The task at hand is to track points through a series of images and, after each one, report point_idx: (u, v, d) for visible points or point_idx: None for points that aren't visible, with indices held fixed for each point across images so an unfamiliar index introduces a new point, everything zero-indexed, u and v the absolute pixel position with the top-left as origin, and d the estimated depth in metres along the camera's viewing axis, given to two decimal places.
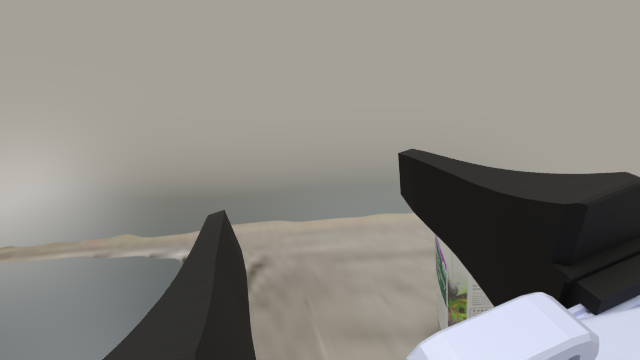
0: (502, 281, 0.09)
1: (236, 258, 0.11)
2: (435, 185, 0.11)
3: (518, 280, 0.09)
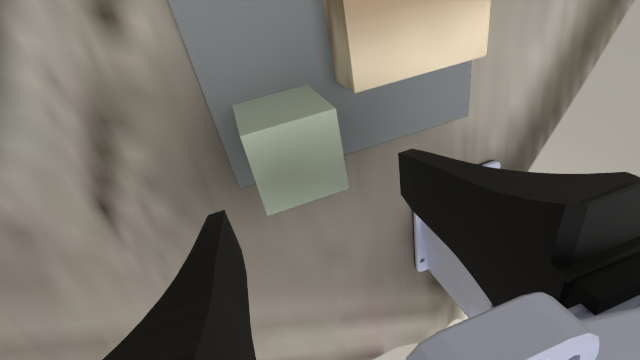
0: (502, 281, 0.09)
1: (236, 258, 0.11)
2: (435, 185, 0.11)
3: (518, 280, 0.09)
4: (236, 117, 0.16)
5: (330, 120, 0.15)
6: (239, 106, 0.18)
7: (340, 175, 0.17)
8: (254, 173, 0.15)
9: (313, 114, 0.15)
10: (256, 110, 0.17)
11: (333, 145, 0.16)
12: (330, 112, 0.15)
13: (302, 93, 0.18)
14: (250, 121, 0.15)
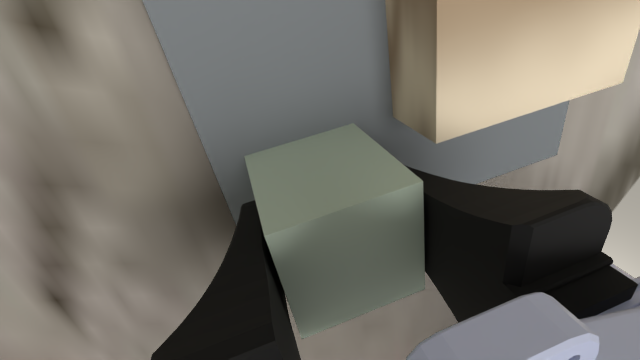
0: (463, 297, 0.09)
1: None
2: None
3: (477, 298, 0.08)
4: (253, 185, 0.10)
5: (412, 199, 0.09)
6: (255, 159, 0.12)
7: (415, 273, 0.11)
8: (285, 286, 0.09)
9: (387, 191, 0.09)
10: (284, 171, 0.11)
11: (411, 234, 0.10)
12: (413, 187, 0.09)
13: (351, 140, 0.12)
14: (278, 199, 0.09)
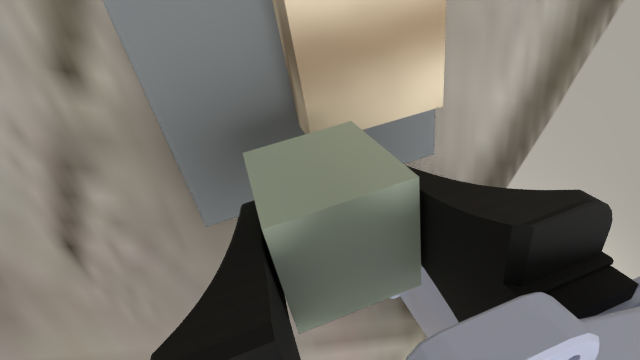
0: (464, 297, 0.09)
1: None
2: None
3: (477, 298, 0.08)
4: (251, 180, 0.10)
5: (408, 195, 0.09)
6: (253, 155, 0.12)
7: (411, 269, 0.11)
8: (282, 280, 0.09)
9: (383, 187, 0.09)
10: (282, 168, 0.11)
11: (407, 230, 0.10)
12: (410, 183, 0.09)
13: (348, 137, 0.12)
14: (276, 194, 0.10)
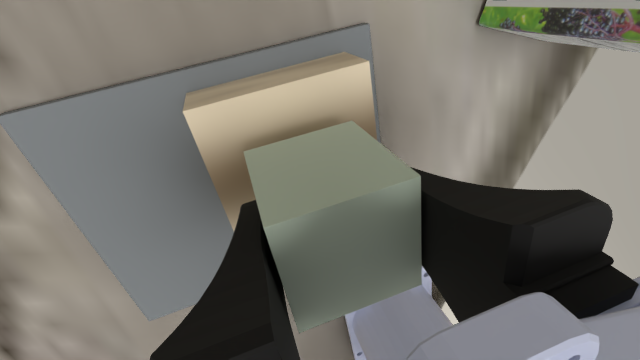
0: (464, 297, 0.09)
1: None
2: None
3: (477, 297, 0.08)
4: (252, 179, 0.10)
5: (409, 194, 0.09)
6: (254, 154, 0.12)
7: (412, 268, 0.11)
8: (283, 279, 0.09)
9: (385, 186, 0.09)
10: (283, 166, 0.11)
11: (408, 229, 0.10)
12: (411, 182, 0.09)
13: (349, 137, 0.12)
14: (277, 192, 0.10)
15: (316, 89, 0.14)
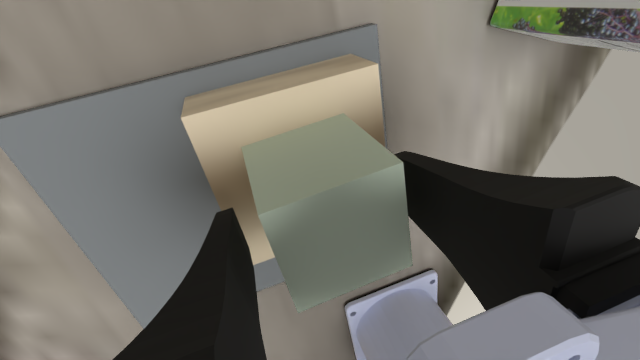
0: (493, 285, 0.09)
1: (245, 255, 0.11)
2: (427, 188, 0.11)
3: (509, 284, 0.09)
4: (249, 172, 0.11)
5: (393, 179, 0.10)
6: (251, 149, 0.13)
7: (402, 250, 0.12)
8: (280, 262, 0.10)
9: (369, 172, 0.10)
10: (277, 159, 0.12)
11: (395, 213, 0.11)
12: (394, 168, 0.10)
13: (340, 129, 0.13)
14: (271, 183, 0.10)
15: (321, 93, 0.13)
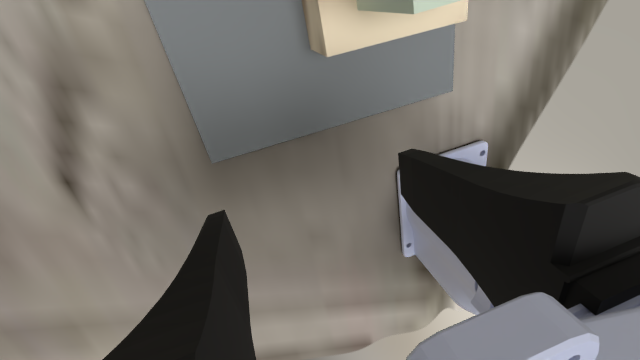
0: (502, 281, 0.09)
1: (236, 258, 0.11)
2: (435, 185, 0.11)
3: (518, 280, 0.09)
4: None
5: None
6: None
7: None
8: None
9: None
10: None
11: None
12: None
13: None
14: None
15: None
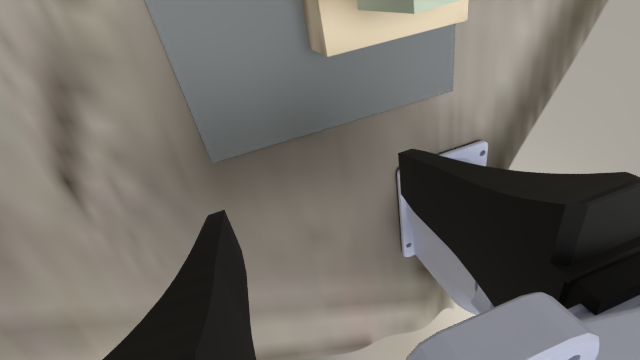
0: (502, 281, 0.09)
1: (236, 258, 0.11)
2: (435, 185, 0.11)
3: (518, 280, 0.09)
4: None
5: None
6: None
7: None
8: None
9: None
10: None
11: None
12: None
13: None
14: None
15: None
